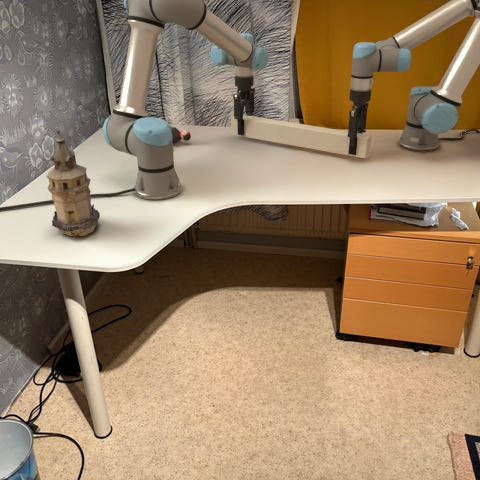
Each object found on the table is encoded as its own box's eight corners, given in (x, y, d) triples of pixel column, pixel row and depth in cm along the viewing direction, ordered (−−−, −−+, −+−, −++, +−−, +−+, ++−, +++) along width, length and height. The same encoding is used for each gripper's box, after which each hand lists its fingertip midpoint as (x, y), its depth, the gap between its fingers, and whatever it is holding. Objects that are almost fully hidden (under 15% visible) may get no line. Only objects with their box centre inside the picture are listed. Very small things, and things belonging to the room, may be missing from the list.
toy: (131, 118, 232) (198, 118, 226) (134, 133, 235) (199, 133, 229) (107, 138, 210) (180, 138, 204) (110, 153, 213) (182, 154, 207)
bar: (231, 134, 223) (230, 116, 219) (237, 130, 227) (237, 113, 223) (364, 158, 197) (367, 139, 193) (369, 154, 201) (371, 135, 197)
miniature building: (80, 214, 164) (63, 117, 149) (111, 225, 157) (96, 125, 142) (44, 231, 154) (22, 130, 140) (75, 244, 147) (55, 139, 133)
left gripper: (240, 81, 202) (241, 140, 214) (263, 72, 216) (263, 128, 227) (223, 79, 206) (225, 137, 217) (247, 70, 219) (247, 125, 231)
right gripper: (362, 96, 181) (356, 161, 192) (379, 84, 194) (372, 146, 206) (341, 93, 184) (336, 157, 196) (359, 82, 198) (354, 143, 209)
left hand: (244, 132), depth 222 cm, fingers closed on bar, 5 cm apart
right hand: (355, 151), depth 201 cm, fingers closed on bar, 5 cm apart
